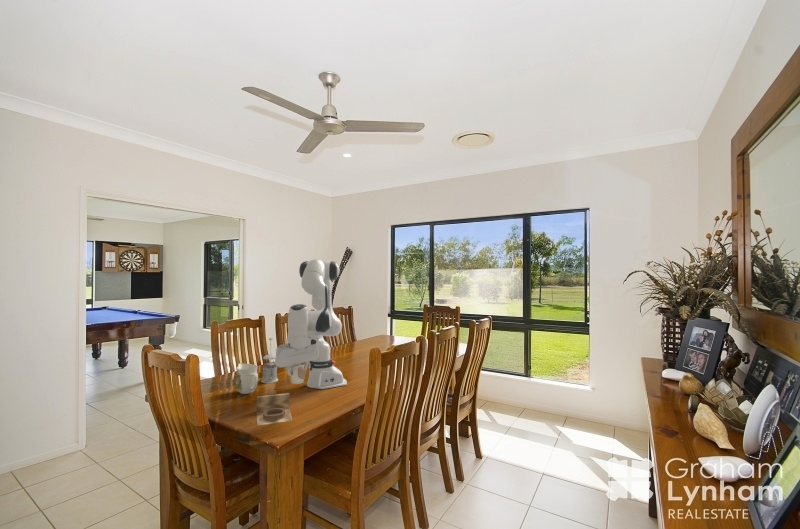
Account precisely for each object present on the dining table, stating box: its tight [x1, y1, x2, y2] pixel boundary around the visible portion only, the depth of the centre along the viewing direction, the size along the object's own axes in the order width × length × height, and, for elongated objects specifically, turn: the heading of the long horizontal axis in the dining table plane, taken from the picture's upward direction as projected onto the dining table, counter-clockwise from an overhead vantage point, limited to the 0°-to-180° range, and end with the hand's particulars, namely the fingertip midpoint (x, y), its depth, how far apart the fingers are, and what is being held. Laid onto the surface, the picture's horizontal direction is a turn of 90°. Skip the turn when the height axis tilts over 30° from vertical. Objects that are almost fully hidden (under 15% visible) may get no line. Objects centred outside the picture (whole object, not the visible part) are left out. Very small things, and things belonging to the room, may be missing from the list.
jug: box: [290, 363, 306, 385], centre depth 154 cm, size 10×6×8 cm, turn 37°
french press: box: [260, 337, 279, 384], centre depth 208 cm, size 10×12×25 cm
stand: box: [256, 392, 293, 427], centre depth 154 cm, size 14×16×8 cm
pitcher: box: [235, 362, 259, 395], centre depth 188 cm, size 11×18×14 cm, turn 51°
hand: (297, 373), depth 155 cm, fingers closed on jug, 6 cm apart
